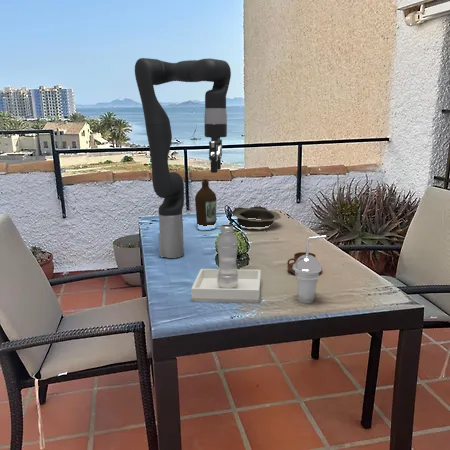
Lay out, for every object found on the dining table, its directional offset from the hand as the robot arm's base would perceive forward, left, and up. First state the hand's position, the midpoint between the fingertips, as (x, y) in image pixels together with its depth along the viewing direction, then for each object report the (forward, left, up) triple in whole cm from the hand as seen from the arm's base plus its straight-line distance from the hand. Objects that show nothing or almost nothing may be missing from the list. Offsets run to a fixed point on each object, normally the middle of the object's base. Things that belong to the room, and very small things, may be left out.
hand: (215, 171), depth 148 cm
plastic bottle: (+6, -21, -35) cm, 41 cm away
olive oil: (-13, +61, -36) cm, 72 cm away
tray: (+6, -21, -35) cm, 41 cm away
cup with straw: (+30, -27, -36) cm, 53 cm away
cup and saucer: (+31, -1, -36) cm, 47 cm away
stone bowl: (+12, +66, -36) cm, 76 cm away
